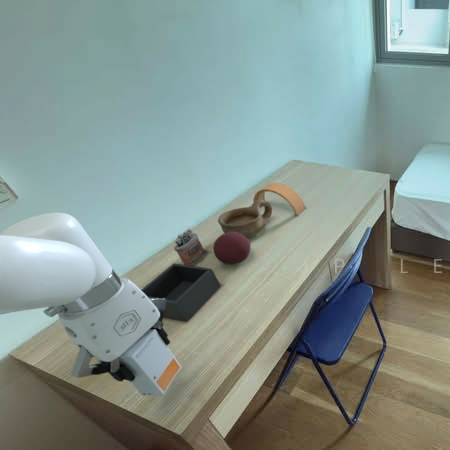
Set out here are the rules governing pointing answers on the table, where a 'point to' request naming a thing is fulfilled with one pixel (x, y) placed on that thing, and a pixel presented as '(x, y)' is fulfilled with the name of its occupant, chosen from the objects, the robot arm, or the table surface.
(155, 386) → the cosmetic box
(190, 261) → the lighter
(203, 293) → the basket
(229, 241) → the decorative ball
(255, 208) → the bowl
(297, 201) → the arch
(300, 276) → the table surface
